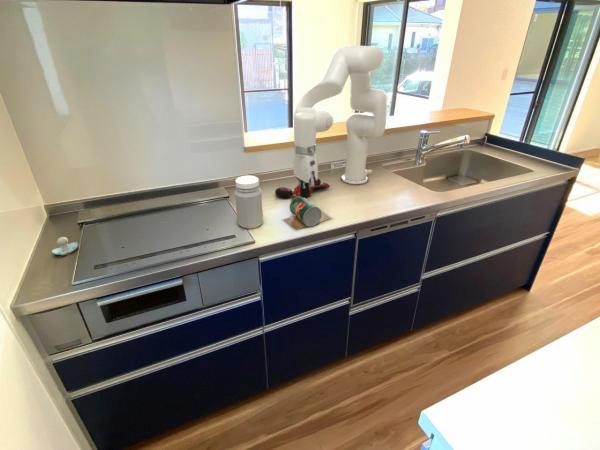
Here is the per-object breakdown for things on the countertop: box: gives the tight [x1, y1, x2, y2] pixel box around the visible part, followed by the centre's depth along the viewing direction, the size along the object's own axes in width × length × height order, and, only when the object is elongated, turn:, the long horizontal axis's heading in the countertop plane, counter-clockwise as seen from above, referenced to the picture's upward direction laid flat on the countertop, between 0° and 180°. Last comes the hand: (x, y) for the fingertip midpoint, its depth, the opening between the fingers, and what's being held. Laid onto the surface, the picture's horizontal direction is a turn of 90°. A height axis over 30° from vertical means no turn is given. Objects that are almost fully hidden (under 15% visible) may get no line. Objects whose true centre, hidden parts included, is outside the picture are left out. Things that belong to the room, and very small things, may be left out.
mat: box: [283, 211, 332, 231], centre depth 134 cm, size 16×9×1 cm, turn 123°
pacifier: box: [51, 236, 79, 256], centre depth 113 cm, size 7×6×6 cm
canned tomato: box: [288, 196, 323, 227], centre depth 131 cm, size 8×8×11 cm
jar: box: [234, 174, 264, 230], centre depth 127 cm, size 10×10×18 cm
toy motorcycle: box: [274, 177, 330, 200], centre depth 154 cm, size 25×5×16 cm
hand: (304, 196), depth 131 cm, fingers closed
